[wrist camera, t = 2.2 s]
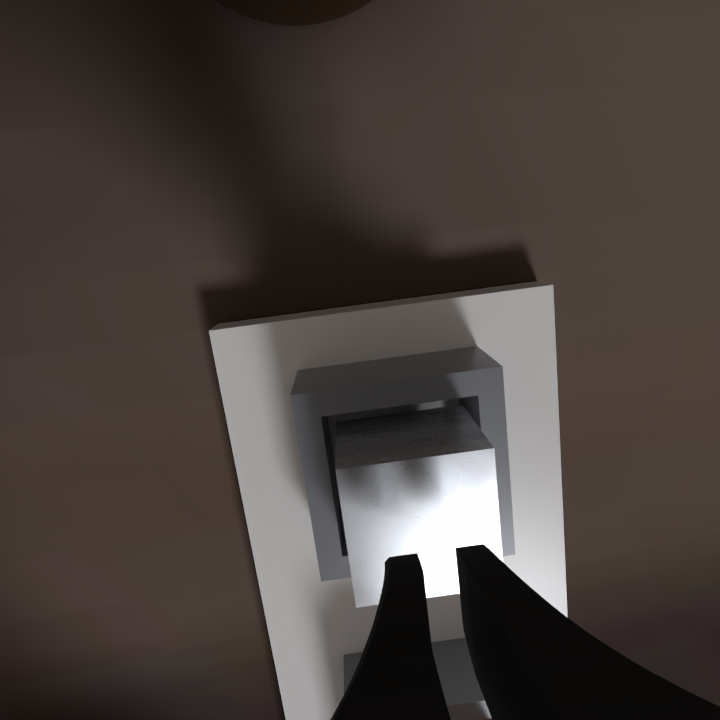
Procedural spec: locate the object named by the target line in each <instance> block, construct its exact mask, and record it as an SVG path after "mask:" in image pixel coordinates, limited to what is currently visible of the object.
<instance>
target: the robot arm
mask: <svg viewBox="0 0 720 720" xmlns="http://www.w3.org/2000/svg"><path fill="white" fill-rule="evenodd" d="M455 550H456V560H457V570H458V580H459V591H460V601H461V611H462V622H463V630H464V634H465V638H466V641H467V645H468V649H469V653H470V657H471V660H472V664H473V668H474V672H475V675H476V678H477V681H478V684H479V686H480V689H481V692H482V694H483V697H484V699H485V702H486V705H487V707H488V710H489V713H490V715H491V718H492V720H720V707H719V706H717V705H715V704H713V703H711V702H709V701H707V700H704V699H702V698H700V697H698V696H696V695H694V694H692V693H690V692H688V691H686V690H684V689H682V688H680V687H678V686H676V685H675V684H673V683H671V682H669V681H667V680H665V679H663V678H662V677H660V676H658V675H656V674H654V673H652V672H650V671H648V670H647V669H645V668H643V667H642V666H640V665H638V664H636V663H635V662H633V661H631V660H630V659H628V658H626V657H625V656H623V655H622V654H620V653H618V652H617V651H615V650H614V649H612V648H611V647H609V646H607V645H606V644H604V643H603V642H601V641H599V640H598V639H596V638H595V637H594V636H592V635H591V634H589V633H588V632H586V631H585V630H583V629H582V628H581V627H579V626H578V625H577V624H575V623H574V622H573V621H571V620H570V619H569V618H567V617H566V616H565V615H563V614H562V613H561V612H560V611H558V610H557V609H556V608H555V607H553V606H552V605H551V604H550V603H549V602H547V601H546V600H545V599H544V598H543V597H541V596H540V595H539V594H538V593H537V592H536V591H534V590H533V589H532V588H531V587H530V586H529V585H527V584H526V583H525V582H524V581H523V580H522V579H521V578H520V577H519V576H517V575H516V574H515V573H514V572H513V571H512V570H511V569H510V568H509V567H508V566H507V565H506V564H505V563H503V562H502V561H501V560H500V559H499V558H498V557H497V556H496V555H495V554H494V553H493V552H492V551H491V550H490V549H489V548H488V547H487V546H485V545H484V544H480V545H472V546H465V547H458V548H455ZM331 720H451V719H450V715H449V711H448V708H447V704H446V701H445V697H444V693H443V690H442V686H441V682H440V678H439V674H438V671H437V667H436V663H435V659H434V655H433V650H432V643H431V635H430V626H429V617H428V609H427V600H426V591H425V582H424V574H423V569H422V566H421V563H420V560H419V557H418V554H417V553H415V554H407V555H400V556H393V557H389V558H388V559H387V560H386V561H385V573H384V582H383V587H382V592H381V597H380V601H379V604H378V608H377V612H376V615H375V619H374V622H373V625H372V629H371V631H370V634H369V637H368V640H367V642H366V645H365V648H364V650H363V653H362V656H361V658H360V661H359V663H358V666H357V668H356V670H355V672H354V675H353V677H352V679H351V681H350V683H349V685H348V687H347V689H346V692H345V694H344V696H343V698H342V700H341V701H340V703H339V705H338V707H337V709H336V711H335V712H334V714H333V716H332V718H331Z"/></svg>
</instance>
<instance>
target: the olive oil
mask: <svg viewBox="0 0 720 720" xmlns="http://www.w3.org/2000/svg"><path fill="white" fill-rule="evenodd" d="M217 1H219V2H220V3H222V4H224V5H225V6H227V7H229V8H231V9H232V10H234V11H236V12H239V13H241V14H243V15H245V16H248V17H251V18H254V19H257V20H260V21H264V22H268V23H274V24H281V25H310V24H317V23H322V22H326V21H330V20H333V19H336V18H339V17H342V16H344V15H347V14H349V13H351V12H353V11H355V10H357V9H359V8H360V7H362V6H364V5H365V4H367V3H368V2H370V1H371V0H217Z"/></svg>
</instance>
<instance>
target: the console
mask: <svg viewBox="0 0 720 720" xmlns="http://www.w3.org/2000/svg"><path fill="white" fill-rule="evenodd" d="M209 335H210V340H211V345H212V350H213V355H214V360H215V365H216V370H217V375H218V380H219V385H220V390H221V395H222V400H223V405H224V411H225V416H226V421H227V426H228V431H229V436H230V441H231V446H232V451H233V456H234V461H235V466H236V471H237V476H238V481H239V486H240V491H241V496H242V501H243V506H244V511H245V517H246V522H247V527H248V532H249V537H250V542H251V547H252V552H253V557H254V562H255V567H256V572H257V577H258V582H259V587H260V592H261V597H262V602H263V607H264V612H265V617H266V623H267V628H268V633H269V638H270V643H271V648H272V653H273V658H274V663H275V668H276V673H277V678H278V683H279V688H280V693H281V698H282V703H283V708H284V713H285V718H286V720H331V718H332V716H333V714H334V712H335V711H336V709H337V707H338V705H339V703H340V701H341V700H342V698H343V696H344V694H345V692H346V689H347V687H348V685H349V683H350V681H351V679H352V677H353V675H354V672H355V670H356V668H357V666H358V663H359V661H360V658H361V656H362V653H363V650H364V648H365V645H366V642H367V640H368V637H369V634H370V631H371V629H372V625H373V622H374V619H375V615H376V612H377V608H378V605H372V606H365V607H357V608H356V604H355V597H354V590H353V584H352V577H351V570H350V564H349V557H348V551H347V544H346V537H345V531H344V524H343V517H342V511H341V504H340V498H339V491H338V484H337V478H336V471H335V453H336V422H338V421H345V420H352V419H360V418H367V417H374V416H382V415H389V414H397V413H404V412H411V411H419V410H426V409H433V408H441V407H448V406H455V405H463V406H464V407H465V409H466V410H467V411H468V413H469V414H470V416H471V417H472V418H473V420H474V421H475V422H476V424H477V425H478V426H479V428H480V429H481V431H482V432H483V433H484V435H485V436H486V437H487V439H488V440H489V441H490V443H491V444H492V446H493V447H494V449H495V463H496V476H497V490H498V503H499V517H500V530H501V543H502V557H503V563H505V564H506V565H507V566H508V567H509V568H510V569H511V570H512V571H513V572H514V573H515V574H516V575H517V576H519V577H520V578H521V579H522V580H523V581H524V582H525V583H526V584H527V585H529V586H530V587H531V588H532V589H533V590H534V591H536V592H537V593H538V594H539V595H540V596H541V597H543V598H544V599H545V600H546V601H547V602H549V603H550V604H551V605H552V606H553V607H555V608H556V609H557V610H558V611H560V612H561V613H562V614H563V615H565V616H566V617H567V593H566V570H565V547H564V524H563V501H562V478H561V455H560V431H559V408H558V385H557V362H556V339H555V316H554V293H553V285H552V284H548V283H544V282H539V281H534V282H526V283H519V284H511V285H504V286H496V287H489V288H481V289H474V290H466V291H459V292H451V293H444V294H437V295H429V296H422V297H414V298H407V299H399V300H392V301H384V302H377V303H369V304H362V305H354V306H347V307H339V308H332V309H324V310H317V311H309V312H302V313H294V314H287V315H279V316H272V317H264V318H257V319H249V320H242V321H234V322H227V323H219V324H217V325H216V326H214V327H213V328H212V329H210V330H209ZM426 600H427V609H428V617H429V626H430V635H431V643H432V650H433V655H434V659H435V663H436V667H437V671H438V674H439V678H440V682H441V686H442V690H443V693H444V697H445V701H446V704H447V708H448V711H449V715H450V719H451V720H482V719H489V718H491V715H490V713H489V710H488V707H487V705H486V702H485V699H484V697H483V694H482V692H481V689H480V686H479V684H478V681H477V678H476V675H475V672H474V668H473V664H472V660H471V657H470V653H469V649H468V645H467V641H466V638H465V634H464V630H463V622H462V611H461V601H460V593H458V594H451V595H444V596H436V597H429V598H426ZM567 618H568V617H567ZM491 720H492V718H491Z"/></svg>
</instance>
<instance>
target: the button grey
mask: <svg viewBox="0 0 720 720" xmlns="http://www.w3.org/2000/svg"><path fill="white" fill-rule="evenodd" d="M335 471H336V478H337V484H338V491H339V498H340V504H341V511H342V517H343V524H344V531H345V537H346V544H347V551H348V557H349V564H350V570H351V577H352V584H353V590H354V597H355V604H356V608H357V607H365V606H372V605H378V604H379V601H380V597H381V592H382V587H383V582H384V573H385V561H386V560H387V559H388V558H389V557H393V556H400V555H407V554H415V553H417V554H418V557H419V560H420V563H421V566H422V569H423V574H424V582H425V591H426V598H429V597H436V596H444V595H451V594H458V593H460V591H459V580H458V570H457V560H456V550H455V548H458V547H465V546H472V545H480V544H484V545H485V546H487V547H488V548H489V549H490V550H491V551H492V552H493V553H494V554H495V555H496V556H497V557H498V558H499V559H500V560H501V561H502V562H503V557H502V543H501V530H500V517H499V503H498V490H497V476H496V463H495V449H494V447H493V446H492V444H491V443H490V441H489V440H488V439H487V437H486V436H485V435H484V433H483V432H482V431H481V429H480V428H479V426H478V425H477V424H476V422H475V421H474V420H473V418H472V417H471V416H470V414H469V413H468V411H467V410H466V409H465V407H464V406H463V405H455V406H448V407H441V408H433V409H426V410H419V411H411V412H404V413H397V414H389V415H382V416H374V417H367V418H360V419H352V420H345V421H338V422H336V453H335Z"/></svg>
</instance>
